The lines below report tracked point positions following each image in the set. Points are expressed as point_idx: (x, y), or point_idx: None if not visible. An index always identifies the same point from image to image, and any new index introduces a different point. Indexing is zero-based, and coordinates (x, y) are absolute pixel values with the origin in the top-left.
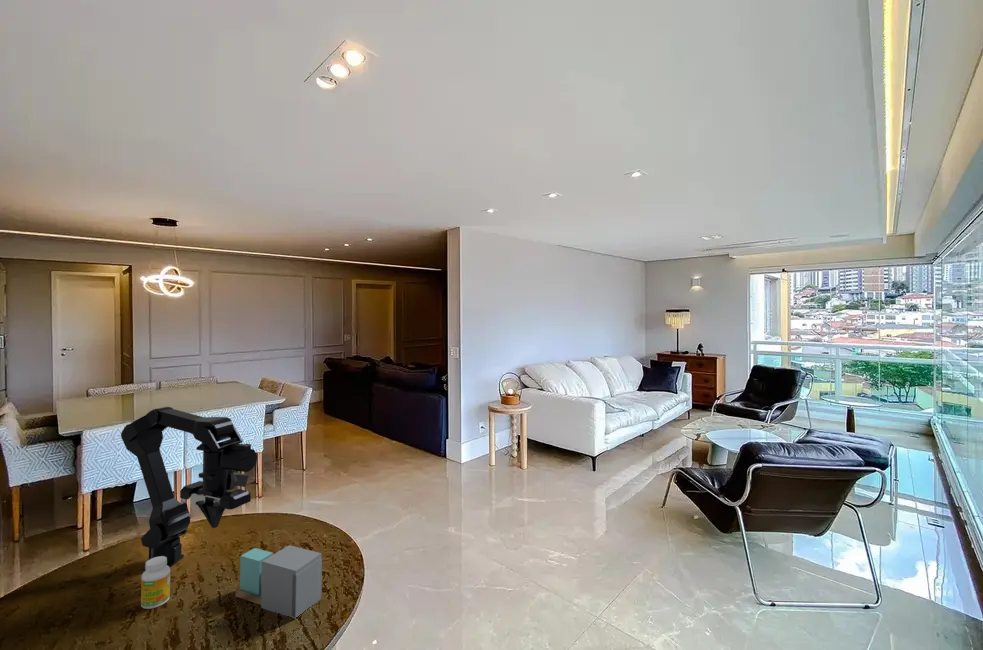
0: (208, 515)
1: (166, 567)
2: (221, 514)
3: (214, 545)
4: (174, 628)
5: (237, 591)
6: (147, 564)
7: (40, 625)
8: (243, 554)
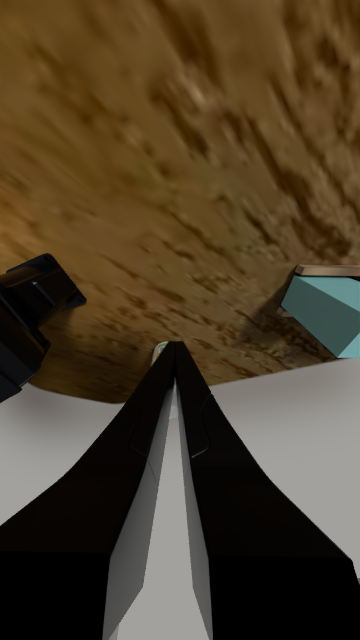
0: (165, 436)
1: (175, 389)
2: (208, 397)
3: (28, 155)
4: (238, 368)
5: (285, 315)
6: None
7: (109, 394)
8: (343, 351)
